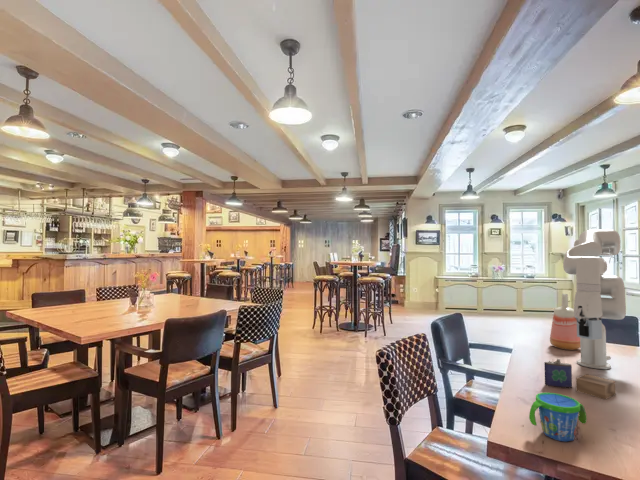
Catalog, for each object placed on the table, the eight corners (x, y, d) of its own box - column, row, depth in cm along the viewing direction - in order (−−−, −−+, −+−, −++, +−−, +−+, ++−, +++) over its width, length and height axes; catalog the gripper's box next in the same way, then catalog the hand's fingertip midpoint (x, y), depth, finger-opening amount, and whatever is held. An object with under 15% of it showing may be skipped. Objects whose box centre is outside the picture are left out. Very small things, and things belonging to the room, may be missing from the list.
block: (587, 387, 139) (587, 374, 139) (615, 394, 131) (615, 381, 131) (576, 391, 134) (576, 378, 134) (605, 400, 126) (604, 385, 127)
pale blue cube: (586, 335, 141) (586, 317, 142) (601, 338, 136) (601, 320, 136) (577, 336, 139) (576, 318, 140) (592, 339, 134) (592, 320, 134)
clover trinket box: (570, 386, 139) (570, 358, 139) (573, 389, 136) (573, 360, 136) (543, 384, 141) (543, 356, 141) (546, 386, 138) (545, 358, 139)
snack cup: (540, 445, 96) (540, 406, 96) (520, 426, 106) (519, 391, 107) (600, 446, 95) (599, 408, 96) (573, 427, 106) (573, 392, 106)
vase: (588, 351, 188) (587, 295, 190) (561, 351, 189) (560, 295, 190) (569, 344, 203) (568, 292, 204) (544, 344, 203) (543, 292, 204)
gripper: (592, 287, 145) (593, 332, 144) (563, 287, 139) (564, 334, 138) (613, 289, 138) (614, 336, 137) (584, 289, 132) (585, 339, 131)
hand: (589, 335), depth 138 cm, fingers closed on pale blue cube, 5 cm apart
